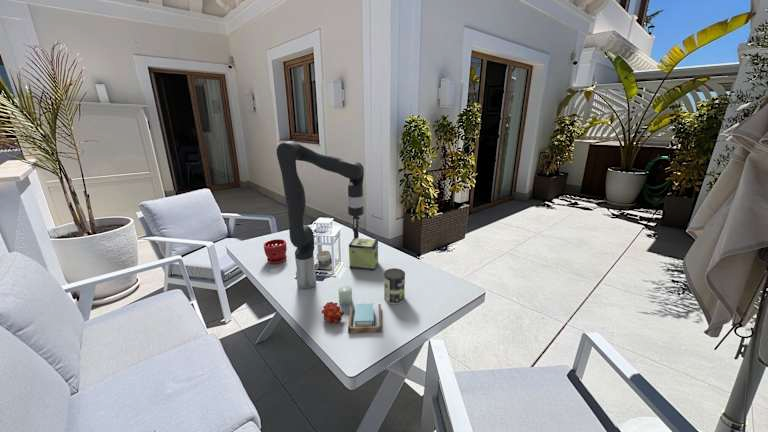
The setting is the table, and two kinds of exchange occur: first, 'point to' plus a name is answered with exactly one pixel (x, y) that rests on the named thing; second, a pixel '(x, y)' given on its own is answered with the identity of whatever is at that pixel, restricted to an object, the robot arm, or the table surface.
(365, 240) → the protein box
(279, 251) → the plant pot
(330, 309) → the dragon fruit
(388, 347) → the table surface
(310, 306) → the table surface
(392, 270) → the coffee can
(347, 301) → the pale green dome
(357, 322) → the teal carton
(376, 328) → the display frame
